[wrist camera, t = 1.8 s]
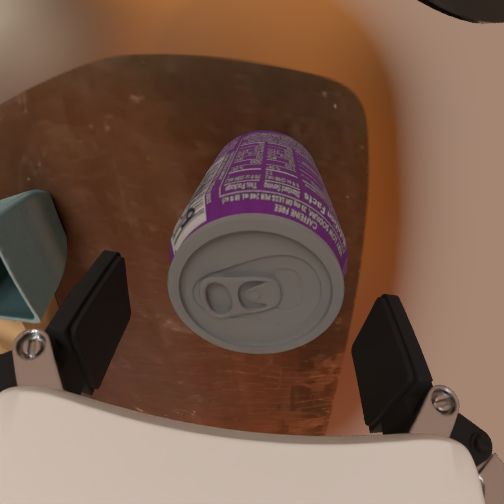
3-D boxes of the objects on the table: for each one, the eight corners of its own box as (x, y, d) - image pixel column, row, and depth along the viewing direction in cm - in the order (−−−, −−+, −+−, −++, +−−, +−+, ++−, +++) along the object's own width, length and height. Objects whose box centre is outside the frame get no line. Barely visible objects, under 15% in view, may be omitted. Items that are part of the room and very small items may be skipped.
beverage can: (221, 228, 23) (184, 361, 13) (205, 135, 19) (128, 215, 9) (318, 221, 22) (348, 355, 12) (314, 124, 18) (365, 195, 8)
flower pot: (92, 256, 25) (42, 326, 18) (32, 261, 26) (-16, 318, 19) (59, 165, 20) (-15, 218, 13) (1, 185, 22) (-61, 233, 14)
